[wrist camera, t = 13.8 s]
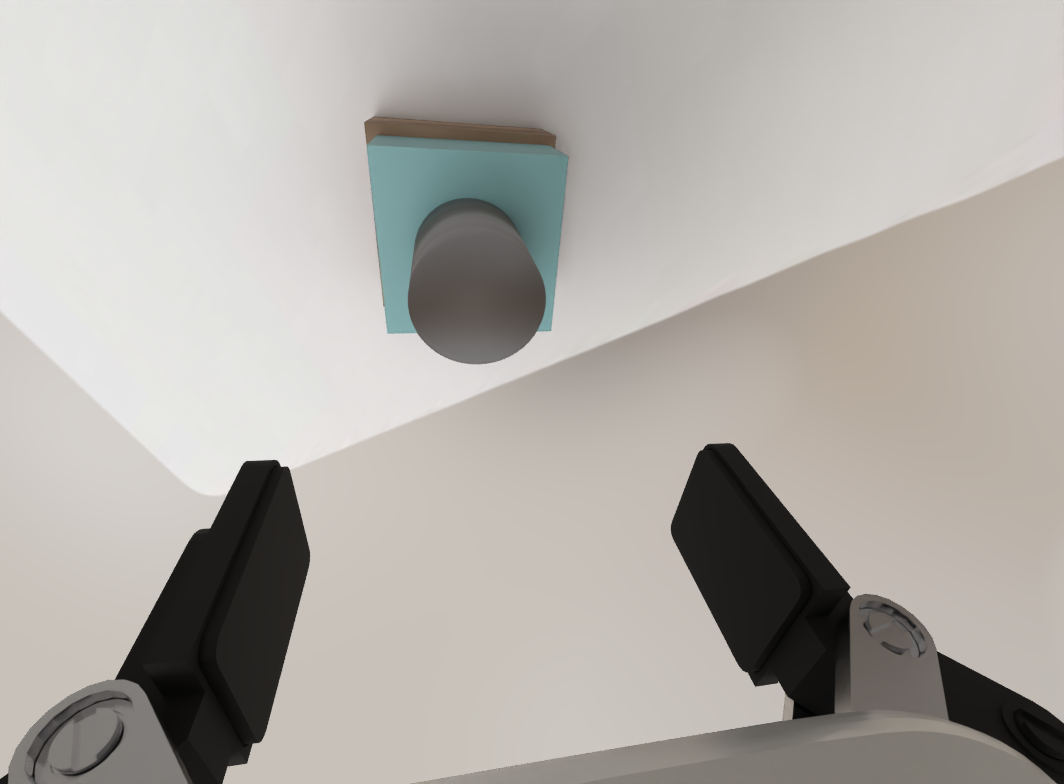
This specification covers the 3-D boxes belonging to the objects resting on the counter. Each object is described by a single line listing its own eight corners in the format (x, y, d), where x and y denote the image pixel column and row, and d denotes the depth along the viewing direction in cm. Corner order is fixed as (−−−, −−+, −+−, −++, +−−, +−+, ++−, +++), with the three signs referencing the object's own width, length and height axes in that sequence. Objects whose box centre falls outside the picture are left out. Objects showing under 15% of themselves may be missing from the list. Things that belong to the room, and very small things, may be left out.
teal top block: (377, 135, 26) (366, 145, 22) (548, 145, 28) (568, 156, 24) (393, 301, 32) (387, 333, 28) (536, 300, 34) (551, 331, 30)
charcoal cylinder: (410, 195, 24) (402, 232, 18) (525, 200, 25) (552, 236, 19) (417, 305, 27) (412, 365, 21) (519, 305, 28) (540, 363, 23)
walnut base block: (373, 116, 30) (364, 122, 26) (540, 128, 32) (555, 135, 28) (389, 280, 36) (383, 306, 32) (529, 282, 38) (540, 306, 34)
